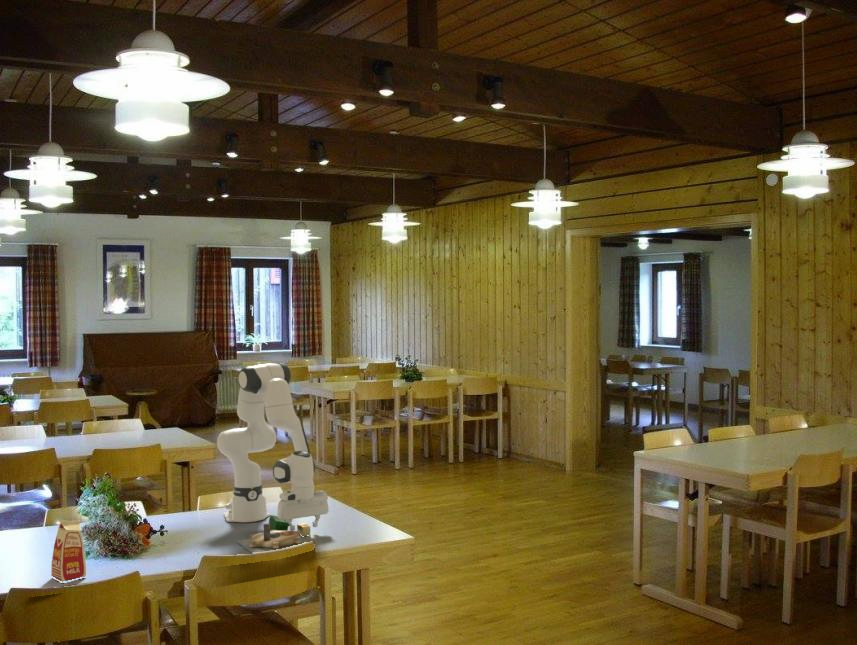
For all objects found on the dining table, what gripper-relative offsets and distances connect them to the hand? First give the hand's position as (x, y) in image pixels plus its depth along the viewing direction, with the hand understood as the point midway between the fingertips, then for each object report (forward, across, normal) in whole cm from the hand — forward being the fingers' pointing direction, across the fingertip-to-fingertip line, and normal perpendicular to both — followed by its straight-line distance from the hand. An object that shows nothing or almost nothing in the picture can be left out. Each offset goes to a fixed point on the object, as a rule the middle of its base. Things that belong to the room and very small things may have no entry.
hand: (303, 528), depth 334 cm
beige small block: (+3, 0, 0) cm, 3 cm away
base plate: (+3, +14, +7) cm, 16 cm away
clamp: (+3, +6, -11) cm, 13 cm away
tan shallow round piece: (+2, +14, +7) cm, 16 cm away
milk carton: (+3, +86, +8) cm, 87 cm away
